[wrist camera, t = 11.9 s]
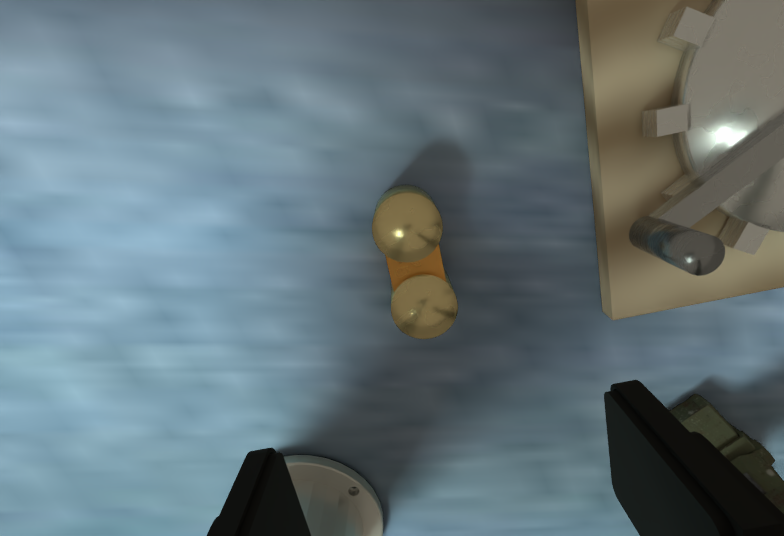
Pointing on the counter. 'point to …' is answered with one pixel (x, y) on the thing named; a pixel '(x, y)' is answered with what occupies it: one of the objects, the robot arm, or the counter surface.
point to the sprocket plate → (646, 164)
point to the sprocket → (720, 133)
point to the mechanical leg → (733, 446)
